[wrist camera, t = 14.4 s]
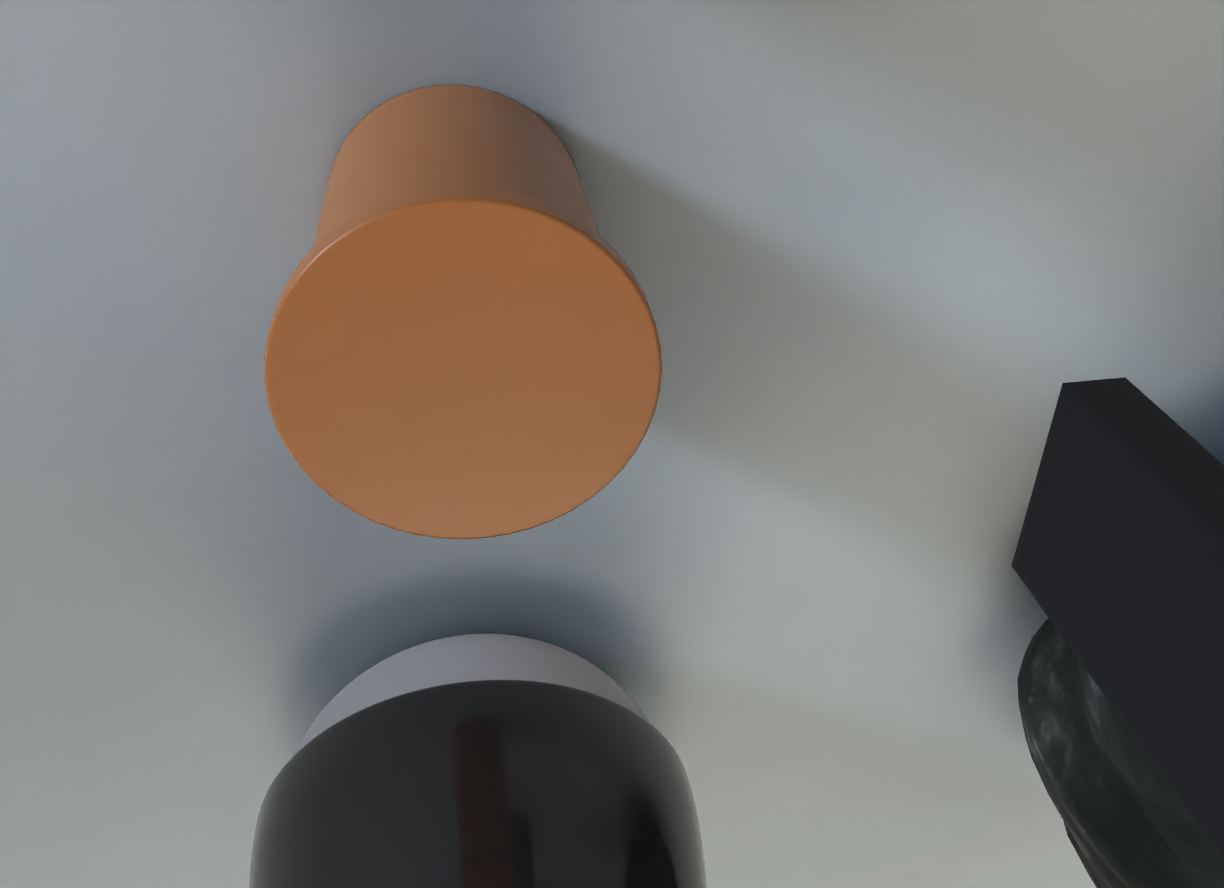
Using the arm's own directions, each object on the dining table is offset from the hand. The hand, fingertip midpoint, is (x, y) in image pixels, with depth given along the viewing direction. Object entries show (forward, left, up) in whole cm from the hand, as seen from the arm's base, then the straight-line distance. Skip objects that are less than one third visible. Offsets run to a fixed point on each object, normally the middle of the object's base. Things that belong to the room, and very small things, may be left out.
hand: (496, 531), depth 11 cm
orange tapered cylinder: (0, 0, -10) cm, 10 cm away
